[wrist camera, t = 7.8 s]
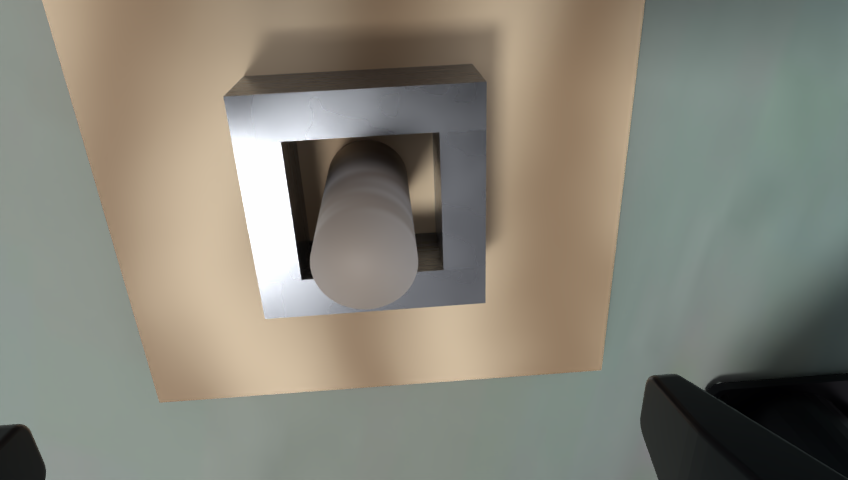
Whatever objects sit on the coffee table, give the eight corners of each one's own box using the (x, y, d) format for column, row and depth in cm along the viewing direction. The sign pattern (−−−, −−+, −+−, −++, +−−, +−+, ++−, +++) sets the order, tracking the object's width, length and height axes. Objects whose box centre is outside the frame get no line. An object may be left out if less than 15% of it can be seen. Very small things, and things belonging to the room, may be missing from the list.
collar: (472, 63, 17) (486, 81, 15) (473, 263, 20) (485, 302, 18) (243, 76, 17) (223, 96, 15) (277, 276, 20) (264, 319, 17)
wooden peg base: (648, -136, 16) (797, -179, 10) (594, 356, 23) (665, 491, 17) (25, -115, 15) (-184, -150, 10) (166, 387, 22) (95, 538, 17)
